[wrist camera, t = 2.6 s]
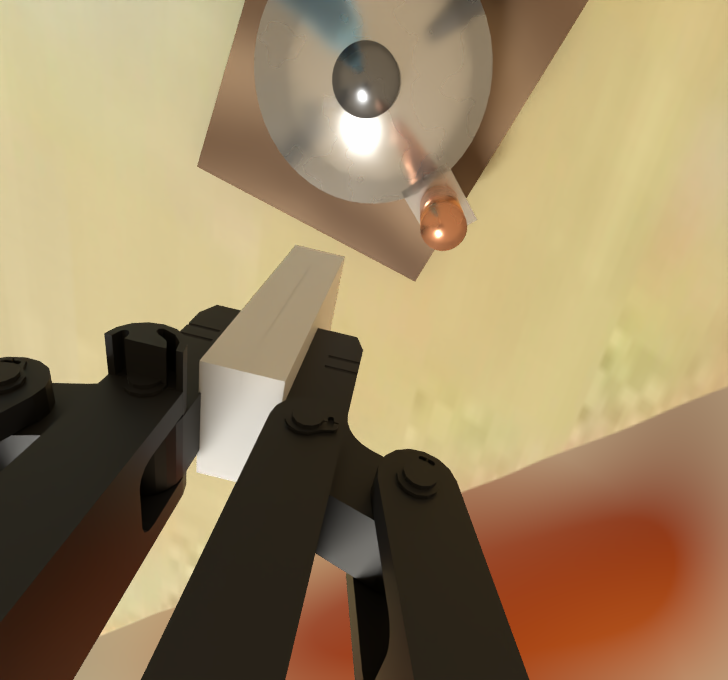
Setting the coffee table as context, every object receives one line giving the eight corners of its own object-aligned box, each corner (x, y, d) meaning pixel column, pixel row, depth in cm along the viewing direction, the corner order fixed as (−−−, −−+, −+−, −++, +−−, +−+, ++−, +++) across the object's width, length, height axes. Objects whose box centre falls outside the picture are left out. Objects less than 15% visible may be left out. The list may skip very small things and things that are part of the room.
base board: (415, 271, 26) (414, 307, 22) (208, 162, 24) (163, 177, 20) (591, -18, 19) (642, -50, 15) (318, -203, 17) (286, -302, 13)
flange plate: (219, 45, 20) (158, 30, 15) (414, -133, 17) (413, -224, 12) (369, 272, 24) (358, 316, 20) (547, 169, 21) (585, 191, 16)
